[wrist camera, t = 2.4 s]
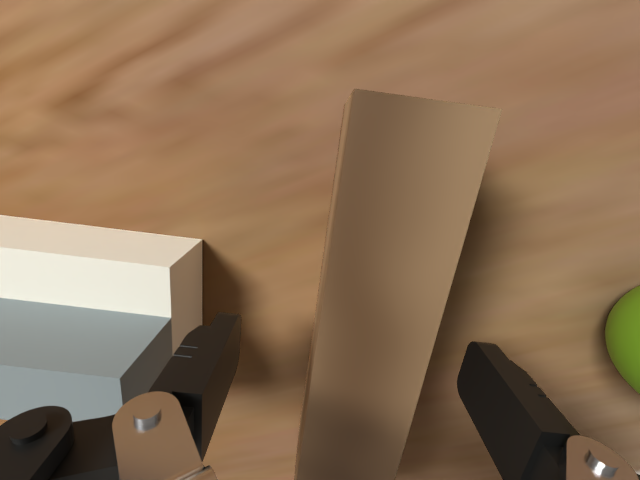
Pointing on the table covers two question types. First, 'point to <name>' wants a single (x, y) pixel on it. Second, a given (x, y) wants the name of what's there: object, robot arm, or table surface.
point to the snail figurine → (625, 337)
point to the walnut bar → (386, 275)
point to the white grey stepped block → (90, 313)
